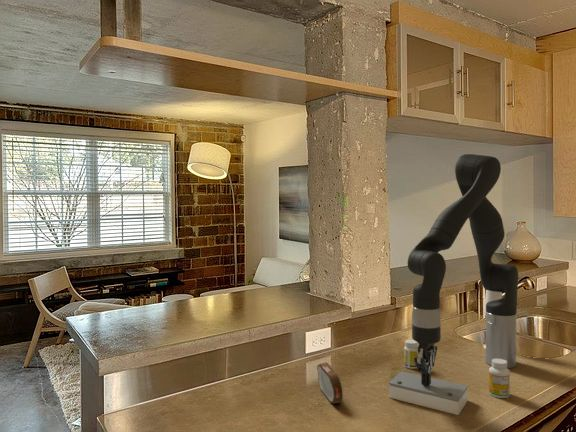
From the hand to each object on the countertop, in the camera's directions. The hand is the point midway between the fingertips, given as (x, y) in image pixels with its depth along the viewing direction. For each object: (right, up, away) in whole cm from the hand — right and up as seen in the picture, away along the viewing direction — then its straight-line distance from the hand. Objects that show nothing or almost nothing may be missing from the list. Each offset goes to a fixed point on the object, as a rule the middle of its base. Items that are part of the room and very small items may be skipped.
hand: (426, 384), depth 128 cm
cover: (+1, -1, +1) cm, 1 cm away
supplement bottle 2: (+22, -4, +4) cm, 22 cm away
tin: (-26, -5, +4) cm, 27 cm away
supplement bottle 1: (+3, -3, +25) cm, 25 cm away
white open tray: (+1, -5, +1) cm, 5 cm away
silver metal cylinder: (+37, -2, +41) cm, 56 cm away
